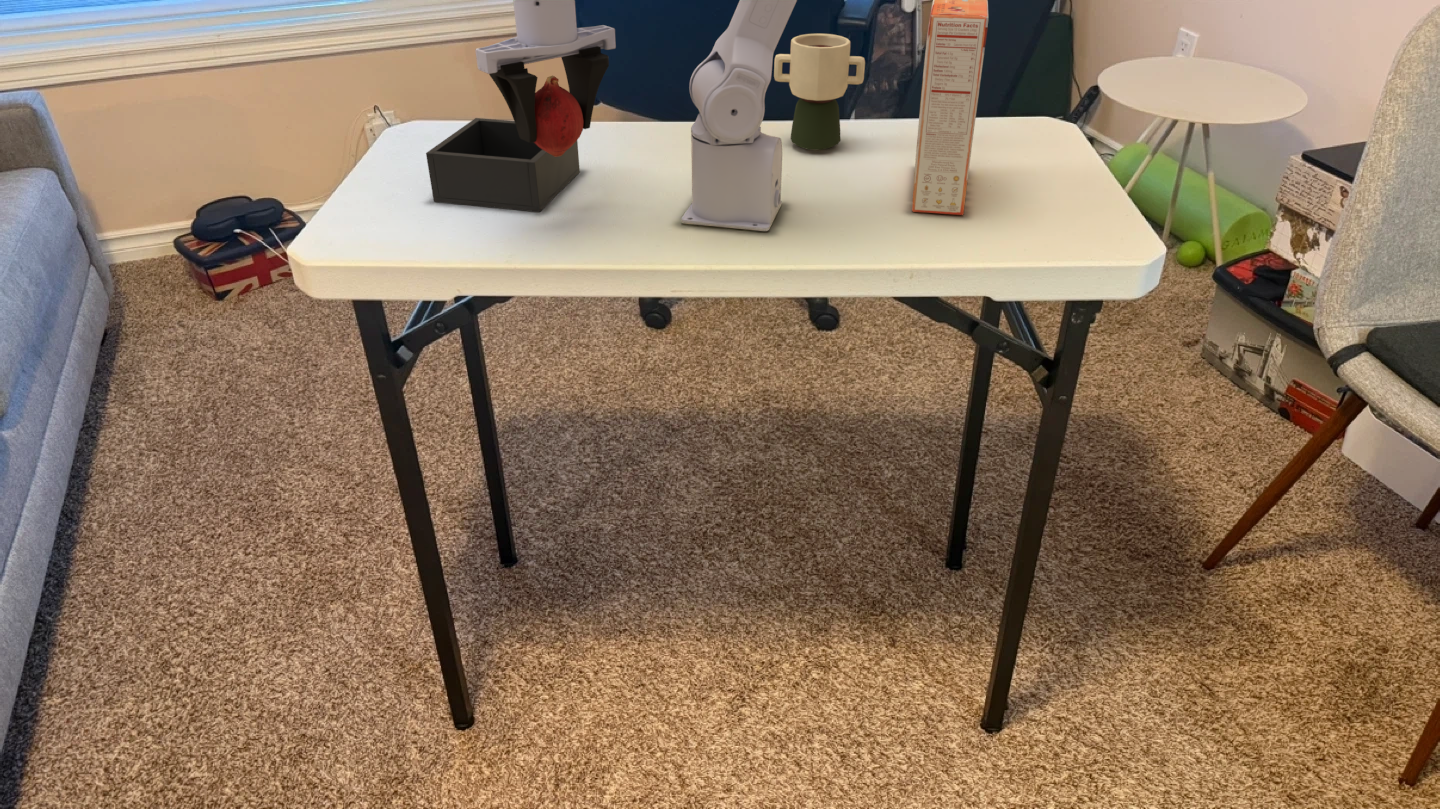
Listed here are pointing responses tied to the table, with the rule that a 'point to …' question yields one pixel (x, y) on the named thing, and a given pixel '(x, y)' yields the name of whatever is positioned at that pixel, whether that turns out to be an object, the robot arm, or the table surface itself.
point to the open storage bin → (497, 168)
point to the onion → (556, 118)
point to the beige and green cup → (818, 86)
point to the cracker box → (949, 104)
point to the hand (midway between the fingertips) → (555, 132)
